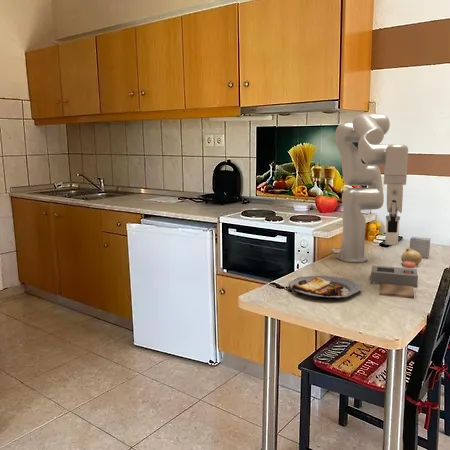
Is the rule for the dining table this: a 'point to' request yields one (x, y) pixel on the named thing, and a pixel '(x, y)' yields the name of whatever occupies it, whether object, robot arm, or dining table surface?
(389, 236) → the cylinder
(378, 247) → the dining table surface
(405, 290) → the pad
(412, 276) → the housing
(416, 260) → the onion
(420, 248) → the medicine box
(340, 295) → the food plate
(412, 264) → the red round-topped peg
